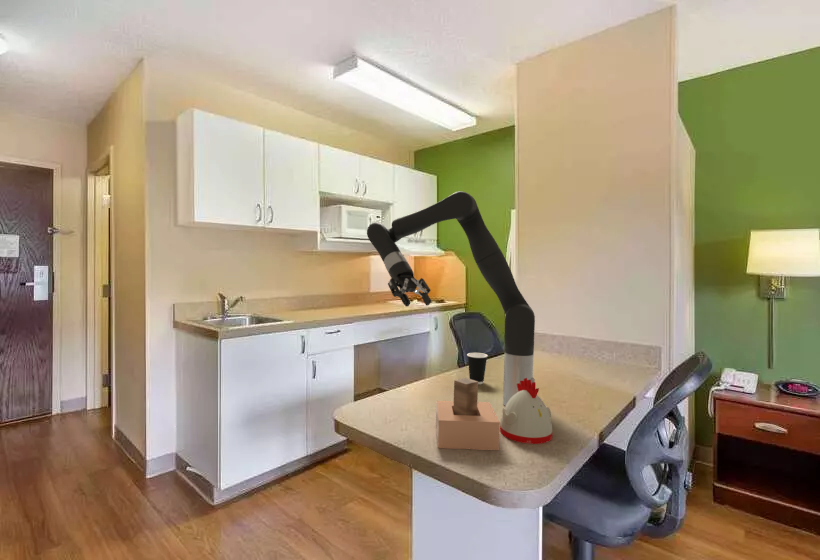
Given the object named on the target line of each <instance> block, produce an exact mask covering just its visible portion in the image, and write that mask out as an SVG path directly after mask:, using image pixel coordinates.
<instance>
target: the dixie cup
mask: <svg viewBox="0 0 820 560" xmlns="http://www.w3.org/2000/svg"><path fill="white" fill-rule="evenodd" d="M466 356H467V363H468V375H469V377H468V378H469V379H472V380H475V381H478V386H479V385H482V384H484V381H485V374H486V369H487V368H486V366H487V360H488V356H489V355H488V354H486V353H482V352H469V353H467V354H466Z"/></svg>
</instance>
